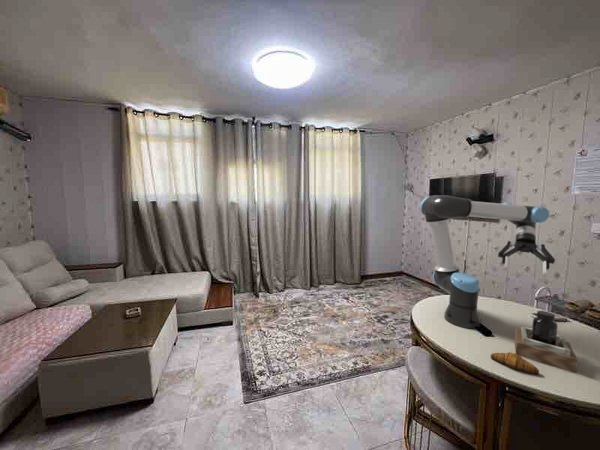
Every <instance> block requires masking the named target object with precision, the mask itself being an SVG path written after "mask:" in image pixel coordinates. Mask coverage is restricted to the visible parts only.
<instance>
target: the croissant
mask: <svg viewBox="0 0 600 450" xmlns="http://www.w3.org/2000/svg"><path fill="white" fill-rule="evenodd" d="M490 359H492V360H493V361H495V362H497V363H499V364H501V365H504V366H506V367H509V368H511V369H514V370H517V371H521V372H524V373H529V374H531V375H539V373H540V370H539V369H538V368H537V367H536V366H535V365H533V363H531V362H529V361H528V360H526V359H524V358H523V356H520V355H517V354H516V352H494V353H493V352H491V354H490Z"/></svg>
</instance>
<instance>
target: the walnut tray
mask: <svg viewBox="0 0 600 450" xmlns="http://www.w3.org/2000/svg"><path fill="white" fill-rule="evenodd" d="M514 329H515V331H514V338H513V339H514V349H515V352H514V353H515V354H517V355H519V356H521V357H522V358H523V357H524V358H527V359H530V360H533V361H536V362H539V363H543V364H547V365H549V366H552V367H556V368H557V369H558V368H560V369H562V370H566V371H568V372H572V373H575V374H576V373H577V367H578V360H579V359H578V357H577V356H576V353H575V352H574V350H573V347H572V346H571V343H570V342H569V341H566V339H565V337H564V336H562V335H558V334H557V337H556V345H555V346H554V345H550V344H546V343H543V342H539V341H535V340H533V339H532V328H531V327H527V326H523V325H522V326H521V328H514Z"/></svg>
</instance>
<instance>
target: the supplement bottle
mask: <svg viewBox="0 0 600 450" xmlns="http://www.w3.org/2000/svg"><path fill="white" fill-rule="evenodd" d="M555 316H556V315H555V314H554V313H552V312H549V311H546V310H545V311H544V310H537V312H536V316H535V317H534V318H533V319H532V328H531V329H532V339H533V340H535V341H539V342H543V343H546V344H550V345H554V346H555V345H556V337H557V335H558V328H559V327H558V323H557V322H556V321H555Z"/></svg>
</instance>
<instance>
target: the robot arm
mask: <svg viewBox="0 0 600 450" xmlns="http://www.w3.org/2000/svg"><path fill="white" fill-rule="evenodd" d="M419 209H420V212H421V214H422V215H423V216H424V220H425V222H426V223H427V224H429V228H430V234H431V238H432V239H431V240H432V244H433V245H432V246H433V251H434V256H435V261H436V263H435V264H436V265H435V266H434V272H433V273H432V279H433V282H434V284H435V285H436V286H437V287H438V288H440V289H441V290H443V291H445V292H446V293H448V294H449V299H448V300H449V303H448V305H447V307H446V309H445V311H444V313H443V314H444V316H443V317H444V318H443V319H445V320H446V321H447V322H448V323H450V324H452V325H454V326H457V327H461V328H466V329H476V328H475V327H476V326H477V325H479V324H480V325H481V319H480V314H479V312H478V299H479V290H480V282H479V280H478V279H477V277H476V276H474V275H471V274H467V273H465V272H460V267H459V266H458V265H457V264H456V263H455V260H454V259H455V258H454V252H453V246H452V240H451V235H450V230H449V223H448V222H449V221H450V219H457V218H458V219H459V218H460V219H466V218H469V217H471V218H482V219H494V220H495V219H496V220H506V221H508V222H510V223H511V224H513V225H515V226H516V227H515V241H514V242H511V241H510V240H508V241H507V243H506V245H504V247H503V248H502V249H501V250H499V252H498V254H497V257H498V258H501V260H502V261H501V264H504V270H503V271H507V268H508V258H509V257H510V256H512V255H514V254H515V253H518V252H520V253H527V254H529V253H530V254H532V255H534V256H535V257H536V258H538V259H539V260H540V261H542V276H543V277H546V274H547V270H549V269H550V268H551V267H550V264H553V265H554V264H555V261H556V259H555V258H554V257H553V256H552V254H551V253H550V252H549V250H547V248H546V245H545V244H544V243H543V244H542V243H541V245H540V244H539V245H537V244H536V243H537V242H536V241H537V240H536V239H537V238H536V234H537V233H536V229H537V228H536V227H537V225H536V223H544V222H546V221H547V220H548V219H549V217H550V210H549V209H547V207H544V206H538V205H537V206H536V205H535V206H532V205H531V206H529V205H520V204H519V205H518V204H512V203H510V202H507V201H506V202H503V203H500V202H499V203H496V202H485V201H477V200H476V201H475V200H472V199H469V198H463V197H458V196H457V197H456V196H454V195H452V196H451V195H447V194H444V195H430V196H427V197H425V198H424V199H423V200H422V202H421V203H420V208H419ZM510 248H511V249H510ZM509 249H510V250H509ZM538 249H539V250H538ZM540 251H541V252H540Z"/></svg>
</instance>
